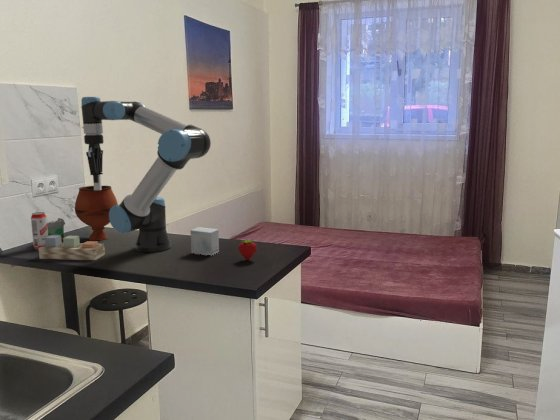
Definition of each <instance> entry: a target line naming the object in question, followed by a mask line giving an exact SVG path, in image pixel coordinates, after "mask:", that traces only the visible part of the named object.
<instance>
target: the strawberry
mask: <svg viewBox="0 0 560 420" xmlns="http://www.w3.org/2000/svg"><path fill="white" fill-rule="evenodd" d="M257 249H258V246H257V244H256V243H255V242H254V241H253V240H250V239H249V240H247V239H245V240H240V243H239V244H238V252H239V253H240V254H241V256H242V257H243V258H244V259H245V260H246V261H250V260H251V258H253V256H254V255H255V254H256V252H257Z"/></svg>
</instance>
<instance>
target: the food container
mask: <svg viewBox="0 0 560 420" xmlns="http://www.w3.org/2000/svg"><path fill="white" fill-rule="evenodd" d="M65 225H66V222H65V220H64V218H60V217H59V218H57V220H55V221H53V220H52V221H50V222H47V227H48V236H50V235H61V241H62V243H63V238H65V232H64V231H65V230H64V229H65Z"/></svg>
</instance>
